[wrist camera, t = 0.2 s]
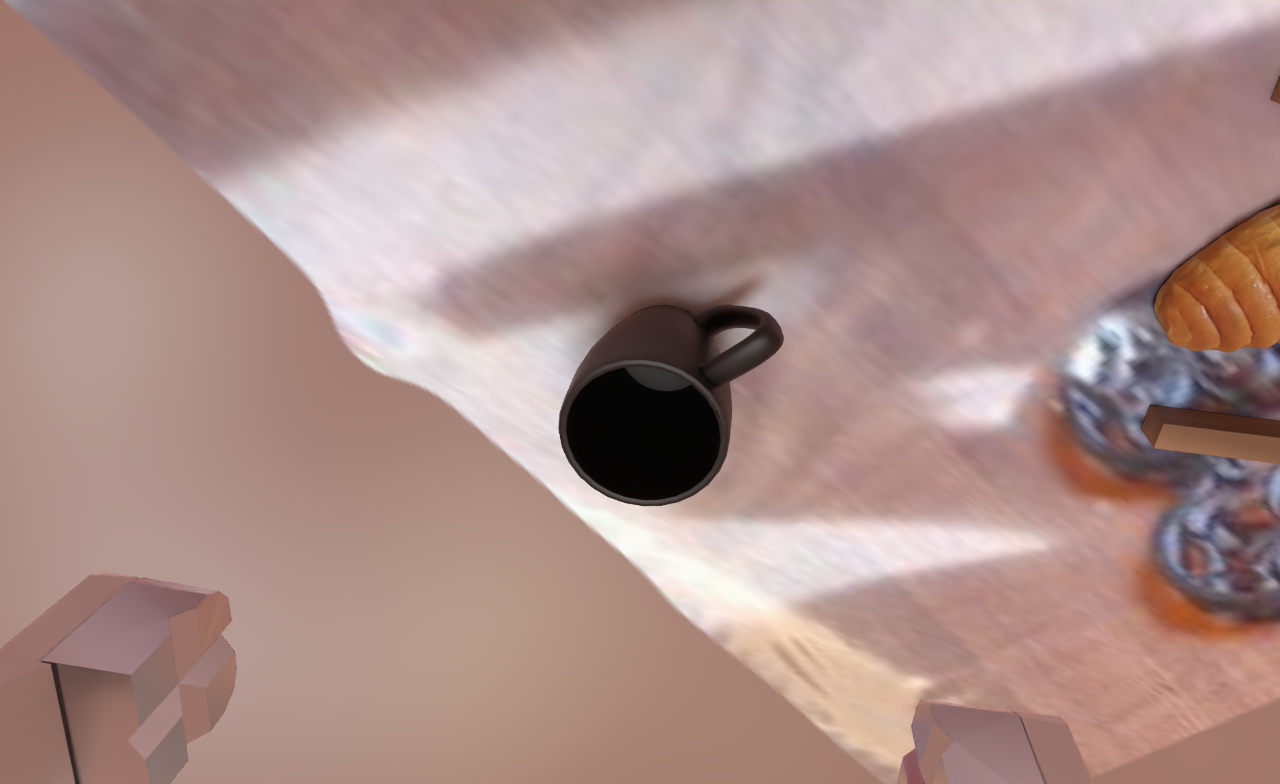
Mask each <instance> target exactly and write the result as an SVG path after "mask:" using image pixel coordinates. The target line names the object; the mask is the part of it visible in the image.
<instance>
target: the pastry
mask: <svg viewBox="0 0 1280 784" xmlns="http://www.w3.org/2000/svg"><path fill="white" fill-rule="evenodd" d="M1154 309H1155V313H1156V317H1157V319H1158V321H1159V323H1160V325H1161V326H1162V328H1163V330H1164V331H1165V333H1166V336H1167V338H1168V339H1169V341H1170V342H1171V343H1172V344H1174V345H1176V346H1181V347H1183V348H1187V349H1189V350H1192V351H1203V350H1220V351H1223V352H1233V351H1235V350H1238V349H1240V348H1243V347H1251V348H1268V347H1270V346H1271V345H1273V344H1275V343H1278V342H1280V204H1279V205H1277V206H1274V207H1272V208H1269V209H1267V210H1263V211H1261V212H1259V213H1258V214H1256V215H1254V216H1253V217H1252V218H1250V219H1249V220H1247V221H1245V222H1243V223H1241V224H1239V225H1238V226H1237V227H1235V228H1234V229H1233V230H1231V231H1229V232H1227V233H1226V234H1224V235H1222V236H1221V237H1220V238H1218V239H1217V240H1216V241H1215V242H1213V243H1212V244H1211V245H1209V246H1208V247H1206V248H1205V249H1203V250H1202V251H1200V252H1199V253H1197V254H1196V255H1195V256H1193V257H1192V258H1190V259H1189V260H1188V261H1186V262H1185V263H1184V264H1183V265H1181V266H1180V267H1179V268H1177V269H1176V270H1175V271H1174V272H1173V274H1172V275H1171V276H1170V278H1169V279H1168V280H1167V281H1166V283H1165V284H1164V285H1163V286H1162V287H1161V288H1160V290H1159V291H1158V293H1157V296H1156V300H1155V303H1154Z"/></svg>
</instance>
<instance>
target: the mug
mask: <svg viewBox="0 0 1280 784" xmlns="http://www.w3.org/2000/svg"><path fill="white" fill-rule="evenodd" d="M731 328H748V329H754V330H756V331H755V332H753V333H752V334H751V335H750V336H748V337H747V338H745V339H744V340H742V341H741V342H739V343H738V344H736V345H735V346H733V347H731V348H730V349H728V350H726V351H725V352H723V353H721V354H720V352H719V350H718V348H717V347H716V345H715V343H714V342H713V340H712V337H713V336H715V335H716V334H718V333H720V332H722V331H724V330H727V329H731ZM783 341H784V336H783V333H782V330H781V327H780V326H779V324H778V323H777V321H776V320H775V319H774V318H773V317H772V316H771V315H770V314H769V313H767V312H765V311H763V310H760V309H756V308H751V307H743V306H735V305H718V306H714V307H711V308H708V309H706V310H704V311H703V312H701V313H699V314H698V315H696V316H694V315H693V314H691V313H689V312H688V311H686V310H683V309H681V308H678V307H674V306H668V305H658V306H651V307H647V308H644V309H641V310H640V311H638V312H636V313H634V314H633V315H632V316H630V317H629V318H627V319H626V320H624V321H622V322H620V323H619V324H617V325H616V326H615V327H614V328H612V329H611V330H610V331H609V332H608V333H607V334H605V335H604V336H603V337H602V338H601V339H600V340H599V341H598V342H597V343H596V344H595V345H594V346H593V347H592V349H591V350H590V351H589V353H588V354H587V356H586V357H585V358H584V360H583V361H582V363H581V364H580V366H579V367H578V369H577V371H576V373H575V375H574V378H573V380H572V382H571V385H570V387H569V389H568V391H567V394H566V396H565V399H564V402H563V405H562V407H561V410H560V415H559V434H560V439H561V445H562V448H563V450H564V453H565V455H566V457H567V459H568V461H569V463H570V464H571V466H572V467H573V468H574V470H575V471H576V472H577V474H578V475H579V476H580V477H581V478H582V479H583V480H584V481H585V482H586V483H588V484H589V485H590V486H591V487H592V488H594V489H595V490H597V491H599V492H600V493H602V494H604V495H606V496H607V497H610V498H612V499H615V500H618V501H621V502H623V503H627V504H634V505H640V506H662V505H667V504H672V503H676V502H680V501H682V500H684V499H686V498H689V497H691V496H693V495H695V494H696V493H698V492H699V491H700V490H702V489H703V488H704V487H706V486H707V485H708V484H709V483H710V482H711V481H712V480H713V478H714V477H715V476H716V475H717V474H718V472H719V471H720V469H721V467H722V465H723V463H724V461H725V459H726V456H727V451H728V446H729V440H730V430H731V419H732V400H731V390H730V381H732V380H734V379H736V378H738V377H740V376H741V375H743V374H745V373H747V372H749V371H750V370H752V369H754V368H755V367H757V366H758V365H760V364H762V363H763V362H765V361H766V360H767V359H769V358H770V357H771V356H773V355H774V354H775V353H776V352H777V351H778V350H779V348H780V347H781V346H782V344H783Z"/></svg>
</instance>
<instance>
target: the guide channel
mask: <svg viewBox="0 0 1280 784" xmlns="http://www.w3.org/2000/svg"><path fill="white" fill-rule="evenodd" d="M1271 100H1272V101H1274V102H1277V103H1279V104H1280V77H1279V80H1278V82H1277V85H1276V87H1275V90H1274V92H1273V95H1272V98H1271ZM1141 430H1142V431H1143V433H1144V434H1145V436H1146V437H1147V439H1148V440H1149V441H1150V443H1151V444H1152V446H1153V447H1154V448H1158V449H1166V450H1174V451H1182V452H1190V453H1198V454H1206V455H1214V456H1221V457H1229V458H1237V459H1245V460H1253V461H1261V462H1269V463H1277V464H1280V421H1277V420H1269V419H1260V418H1252V417H1244V416H1236V415H1228V414H1220V413H1212V412H1203V411H1195V410H1187V409H1179V408H1171V407H1163V406H1155V405H1150V407H1149V409H1148V412H1147V414H1146V417H1145V419H1144V422H1143V425H1142V427H1141Z"/></svg>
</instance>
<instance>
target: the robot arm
mask: <svg viewBox="0 0 1280 784" xmlns="http://www.w3.org/2000/svg"><path fill="white" fill-rule="evenodd" d="M231 621H232V618H231V612H230V606H229V600H228V597H227V596H225V595H224V594H223V593H221V592H220V591H216V590H210V589H205V588H199V587H193V586H188V585H182V584H177V583H171V582H165V581H160V580H154V579H148V578H138V577H134V576H128V575H122V574H116V573H110V572H100V573H95V574H91V575H90V576H88V577H87V578H86V579H84V580H83V581H82V582H81V583H80V584H78V585H77V586H76V587H75V588H74V589H72V590H71V591H70V592H69V593H68V594H66V595H65V596H64V597H63V598H61V599H60V600H59V601H58V602H57V603H55V604H54V605H53V606H52V607H51V608H49V609H48V610H47V611H46V612H44V613H43V614H42V615H41V616H39V617H38V618H37V619H36V620H35V621H33V622H32V623H31V624H30V625H29V626H27V627H26V628H25V629H24V630H22V631H21V632H20V633H19V634H18V635H16V636H15V637H14V638H13V639H12V640H10V641H9V642H8V643H7V644H6V645H4V646H3V647H2V648H1V649H0V784H170V783H171V782H172V781H173V779H174V778H175V777H176V776H177V774H178V773H179V772H180V770H181V769H182V768H183V767H184V765H185V764H186V763H187V761H188V753H187V743H189V742H191V741H193V740H195V739H197V738H199V737H201V736H203V735H205V734H206V733H208V732H210V731H211V730H212V729H213V727H214V726H215V725H216V723H217V722H218V721H219V719H220V718H221V717H222V715H223V714H224V712H225V710H226V707H227V705H228V702H229V700H230V697H231V695H232V693H233V690H234V686H235V678H236V670H237V666H236V655H235V651H234V649H233V648H232V647H231V646H230V644H229V643H228V642H227V641H226V640H225V638H224V637H223V636H222V635H221V634H222V632H223V631H224V630H225V629H226V627H227V626H228V625H229V624H230V623H231ZM911 728H912V733H913V738H914V743H915V749H914V750H912V751H911V752H909V753H908V754H907V755H905V756H904V757H903V760H902V764H901V769H900V773H899V777H898V784H1094V783H1093V781H1092V778H1091V776H1090V774H1089V772H1088V769H1087V767H1086V765H1085V763H1084V760H1083V758H1082V756H1081V754H1080V751H1079V749H1078V747H1077V745H1076V742H1075V740H1074V738H1073V735H1072V733H1071V731H1070V729H1069V726H1068V724H1067V723H1066V722H1065V721H1064V720H1063V719H1061V718H1060V717H1056V716H1048V715H1040V714H1032V713H1025V712H1017V711H1013V712H1008V711H1001V710H994V709H987V708H981V707H974V706H967V705H960V704H953V703H947V702H940V701H933V700H926V699H921V701H920V703H919V705H918V706H917V708H916V711H915V715H914V718H913V722H912V725H911Z"/></svg>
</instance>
